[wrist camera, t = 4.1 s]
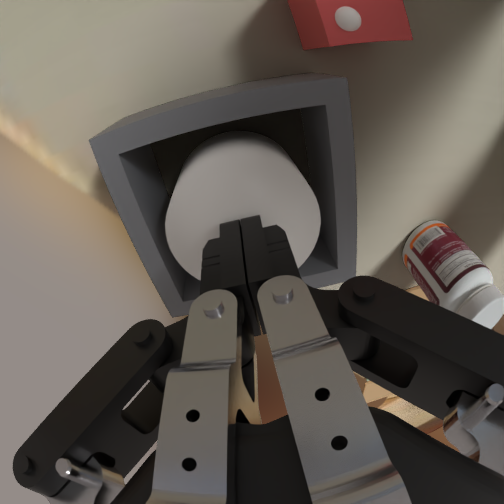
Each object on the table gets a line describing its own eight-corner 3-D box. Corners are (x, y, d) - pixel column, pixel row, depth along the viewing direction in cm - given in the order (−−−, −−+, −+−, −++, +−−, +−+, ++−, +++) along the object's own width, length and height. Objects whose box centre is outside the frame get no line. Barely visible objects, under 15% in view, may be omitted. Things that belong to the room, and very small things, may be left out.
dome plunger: (168, 140, 14) (140, 184, 9) (281, 113, 14) (314, 143, 9) (199, 233, 18) (193, 305, 13) (297, 212, 18) (326, 277, 13)
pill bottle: (436, 266, 22) (487, 340, 15) (393, 270, 21) (443, 355, 14) (455, 218, 19) (521, 289, 12) (411, 217, 18) (481, 299, 12)
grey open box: (122, 118, 13) (88, 140, 10) (313, 72, 13) (347, 77, 9) (179, 265, 19) (172, 317, 15) (330, 233, 19) (355, 278, 15)
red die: (280, -16, 10) (302, -43, 6) (352, -22, 9) (393, -42, 6) (303, 50, 12) (333, 46, 8) (371, 41, 12) (418, 40, 8)
